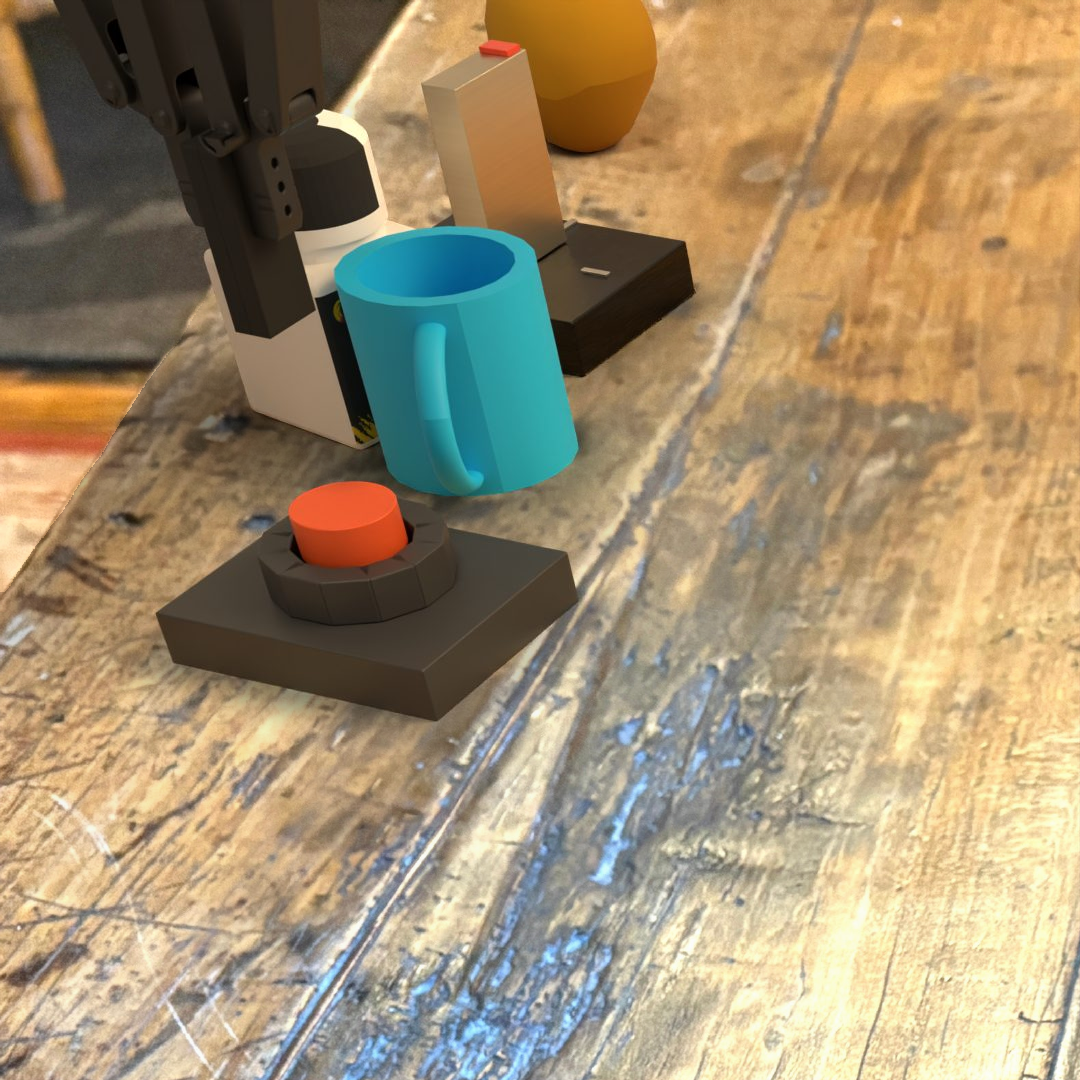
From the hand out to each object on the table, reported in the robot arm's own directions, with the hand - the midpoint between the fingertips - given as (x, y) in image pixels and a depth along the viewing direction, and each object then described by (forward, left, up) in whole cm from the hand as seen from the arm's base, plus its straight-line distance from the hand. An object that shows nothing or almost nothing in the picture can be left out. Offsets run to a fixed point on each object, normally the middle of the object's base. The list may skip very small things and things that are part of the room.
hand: (275, 320), depth 96 cm
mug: (-4, +13, -13) cm, 18 cm away
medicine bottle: (-12, +17, -13) cm, 24 cm away
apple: (-20, +48, -13) cm, 53 cm away
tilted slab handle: (-11, +28, -10) cm, 32 cm away
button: (0, 0, -9) cm, 9 cm away
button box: (0, 0, -12) cm, 12 cm away
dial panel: (-11, +28, -12) cm, 32 cm away
